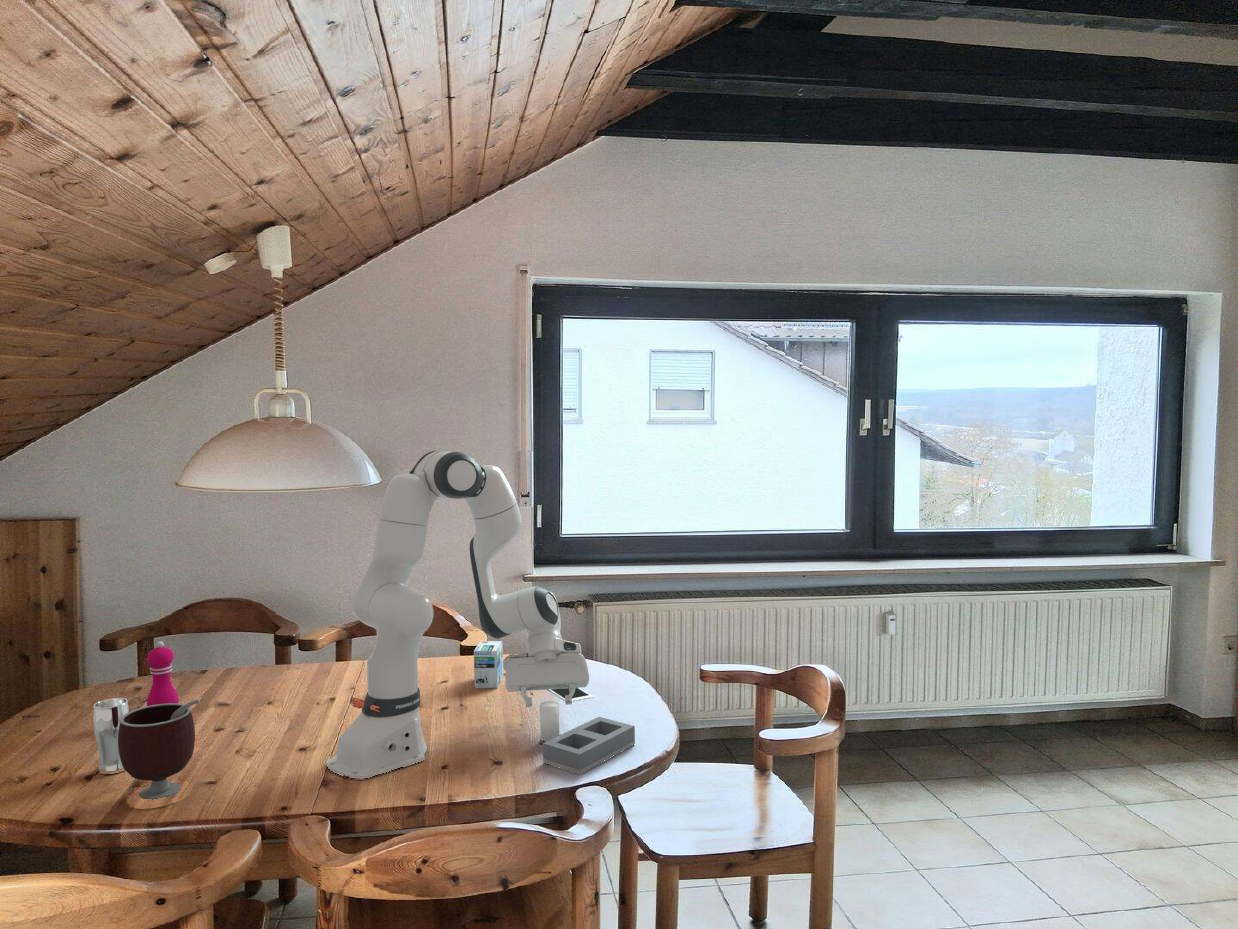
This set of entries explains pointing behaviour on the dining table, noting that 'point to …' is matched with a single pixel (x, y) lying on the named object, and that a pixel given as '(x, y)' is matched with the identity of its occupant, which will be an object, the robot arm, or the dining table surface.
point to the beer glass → (109, 731)
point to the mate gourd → (157, 745)
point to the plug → (549, 720)
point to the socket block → (588, 744)
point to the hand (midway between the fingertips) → (548, 705)
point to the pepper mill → (161, 676)
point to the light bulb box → (488, 664)
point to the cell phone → (576, 696)
